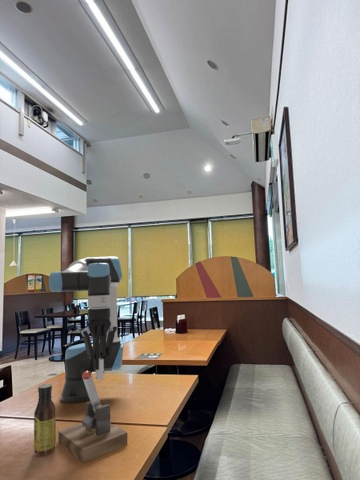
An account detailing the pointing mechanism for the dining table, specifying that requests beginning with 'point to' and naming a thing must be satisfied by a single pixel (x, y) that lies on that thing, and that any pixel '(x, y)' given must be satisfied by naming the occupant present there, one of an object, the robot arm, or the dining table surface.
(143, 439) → the dining table surface
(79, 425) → the base
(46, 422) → the sauce bottle
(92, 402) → the lever
